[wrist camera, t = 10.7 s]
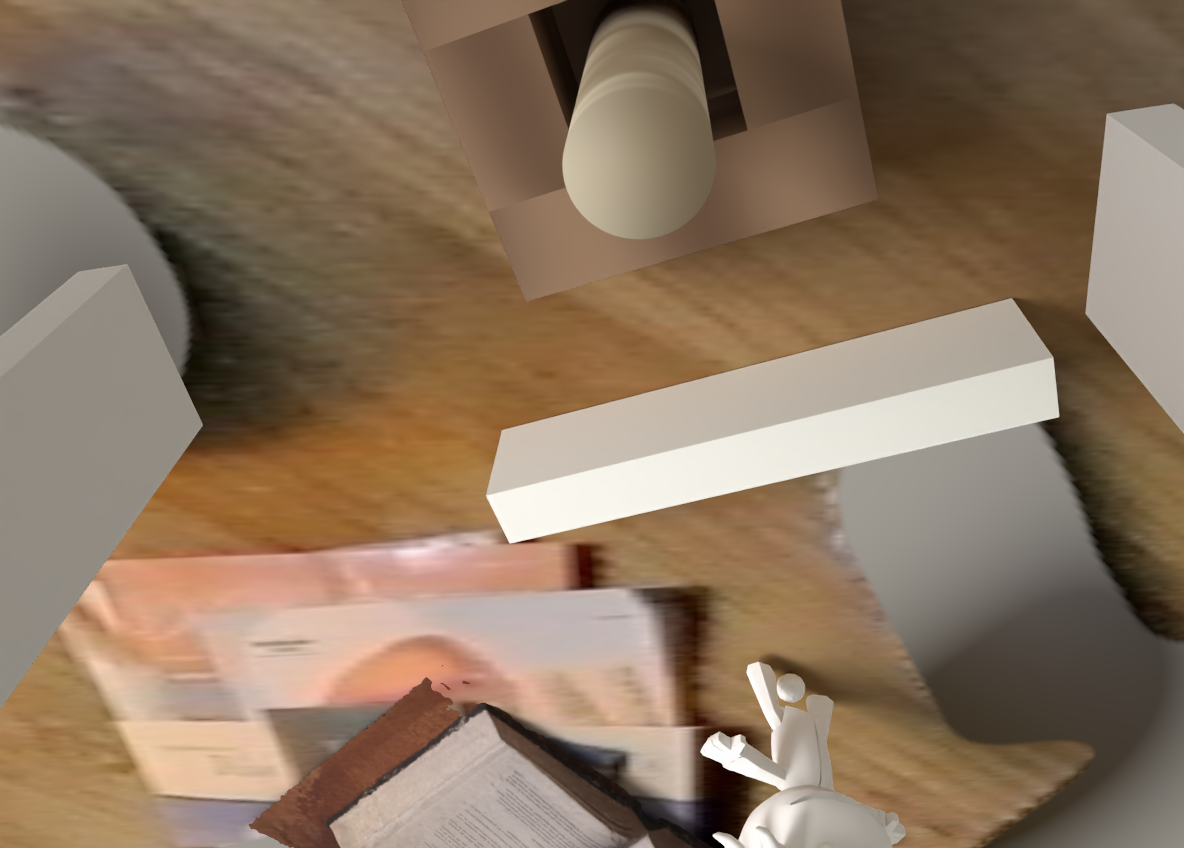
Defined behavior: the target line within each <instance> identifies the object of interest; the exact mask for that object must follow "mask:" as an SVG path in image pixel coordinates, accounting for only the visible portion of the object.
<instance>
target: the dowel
mask: <svg viewBox="0 0 1184 848" xmlns="http://www.w3.org/2000/svg"><path fill="white" fill-rule="evenodd" d="M562 167H563V177H564V182H565V186H566V189H567V192H568V194H569V196H570V198H571V200H572V202H573V203H574V205H575V207H576V208H577V209H578V211H579V212H580V213H581V214H582V215H583V216H584V217H585V218H586V219H587V220H588V221H589V222H590V223H592V224H593V225H594V226H596V227H597V228H599V229H601V230H603V231H604V232H607V233H609V234H612V235H614V236H618V237H622V238H628V239H650V238H655V237H659V236H663V235H665V234H668V233H671V232H673V231H674V230H676V229H678V228H680V227H681V226H683V225H684V224H686V223H687V222H688V221H689V220H690V219H692V218H693V217H694V216H695V215H696V213H697V212H698V211H699V210H700V209H701V207H702V206H703V204H704V203H705V201H706V200H707V198H708V195H709V193H710V191H711V188H712V185H713V182H714V177H715V170H716V157H715V149H714V143H713V136H712V130H711V124H710V118H709V112H708V106H707V100H706V94H705V88H704V82H703V76H702V70H701V64H700V58H699V52H698V46H697V39H696V33H695V28H694V23H693V21H692V18H691V15H690V13H689V11H688V10H687V8H686V7H685V5H684V4H683V3H682V2H681V1H680V0H610V1H609V2H608V3H607V4H606V5H605V6H604V8H603V9H602V11H601V12H600V14H599V16H598V18H597V21H596V24H595V28H594V32H593V36H592V40H591V44H590V48H589V52H588V56H587V60H586V64H585V68H584V72H583V76H582V80H581V84H580V88H579V92H578V96H577V100H576V104H575V107H574V111H573V115H572V119H571V123H570V127H569V131H568V135H567V139H566V143H565V148H564V152H563V161H562Z"/></svg>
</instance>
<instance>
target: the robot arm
mask: <svg viewBox="0 0 1184 848" xmlns="http://www.w3.org/2000/svg"><path fill="white" fill-rule="evenodd" d="M1085 314H1086V315H1087V316H1088V318H1089V319H1090V320H1091V321H1092V322H1093V324H1094V325H1095V326H1096V327H1097V329H1098V330H1099V331H1100V332H1101V333H1102V335H1103V336H1104V337H1105V338H1106V340H1107V341H1108V342H1109V343H1110V344H1111V346H1112V347H1113V348H1114V349H1115V350H1116V352H1117V353H1118V354H1119V355H1120V357H1121V358H1122V359H1123V360H1124V361H1125V363H1126V364H1127V365H1128V366H1129V368H1130V369H1131V370H1132V371H1133V372H1134V374H1135V375H1136V376H1137V377H1138V378H1139V380H1140V381H1141V382H1142V383H1143V385H1144V386H1145V387H1146V388H1147V389H1148V391H1149V392H1150V393H1151V394H1152V396H1153V397H1154V398H1155V399H1156V400H1157V402H1158V403H1159V404H1160V405H1161V406H1162V408H1163V409H1164V410H1165V411H1166V413H1167V414H1168V415H1169V416H1170V417H1171V419H1172V420H1173V421H1174V422H1175V424H1176V425H1177V426H1178V427H1179V428H1180V430H1181V431H1182V432H1183V433H1184V109H1182V108H1180V107H1179V106H1177V105H1175V104H1174V103H1173V104H1167V105H1160V106H1154V107H1147V108H1141V109H1134V110H1128V111H1121V112H1114V113H1108V114H1107V117H1106V127H1105V136H1104V145H1103V154H1102V164H1101V173H1100V182H1099V191H1098V201H1097V210H1096V219H1095V229H1094V238H1093V247H1092V256H1091V266H1090V275H1089V284H1088V293H1087V303H1086V312H1085ZM202 426H203V424H202V422H201V420H200V418H199V416H198V414H197V411H196V409H195V407H194V405H193V403H192V401H191V399H190V397H189V394H188V392H187V390H186V388H185V386H184V384H183V382H182V380H181V377H180V375H179V373H178V371H177V369H176V367H175V365H174V362H173V360H172V358H171V356H170V354H169V352H168V350H167V348H166V345H165V343H164V341H163V339H162V337H161V335H160V333H159V331H158V329H157V326H156V324H155V322H154V320H153V318H152V316H151V314H150V311H149V309H148V307H147V305H146V303H145V301H144V299H143V297H142V294H141V292H140V290H139V288H138V286H137V284H136V282H135V280H134V278H133V275H132V273H131V271H130V269H129V267H128V265H127V264H125V265H119V266H113V267H106V268H99V269H93V270H86V271H80V272H77V273H76V274H75V275H74V276H73V277H71V278H70V279H69V280H68V281H67V282H65V283H64V284H63V285H62V286H61V287H59V288H58V289H57V290H56V291H55V292H53V293H52V294H51V295H50V296H49V297H47V298H46V299H45V300H44V301H43V302H41V303H40V304H39V305H38V306H37V307H35V308H34V309H33V310H32V311H31V312H29V313H28V314H27V315H26V316H25V317H23V318H22V319H21V320H20V321H19V322H17V323H16V324H15V325H14V326H13V327H12V328H10V329H9V330H8V331H7V332H5V333H4V334H3V335H2V336H0V709H1V707H2V706H3V705H4V703H5V702H6V700H7V699H8V698H9V696H10V695H11V693H12V692H13V691H14V689H15V688H16V686H17V685H18V684H19V682H20V681H21V679H22V678H23V677H24V675H25V674H26V672H27V671H28V670H29V668H30V667H31V665H32V664H33V663H34V661H35V660H36V658H37V657H38V656H39V654H40V653H41V651H42V650H43V649H44V647H45V646H46V644H47V643H48V642H49V640H50V639H51V637H52V636H53V635H54V633H55V632H56V630H57V629H58V628H59V626H60V625H61V623H62V622H63V621H64V619H65V618H66V616H67V615H68V614H69V612H70V611H71V609H72V608H73V607H74V605H75V604H76V602H77V601H78V600H79V598H80V597H81V595H82V594H83V593H84V591H85V590H86V588H87V587H88V586H89V584H90V583H91V581H92V580H93V579H94V577H95V576H96V574H97V573H98V571H99V570H100V569H101V567H102V566H103V564H104V563H105V562H106V560H107V559H108V557H109V556H110V555H111V553H112V552H113V550H114V549H115V548H116V546H117V545H118V543H119V542H120V541H121V539H122V538H123V536H124V535H125V534H126V532H127V531H128V529H129V528H130V527H131V525H132V524H133V522H134V521H135V520H136V518H137V517H138V515H139V514H140V513H141V511H142V510H143V508H144V507H145V506H146V504H147V503H148V501H149V500H150V499H151V497H152V496H153V494H154V493H155V492H156V490H157V489H158V487H159V486H160V485H161V483H162V482H163V480H164V479H165V478H166V476H167V475H168V473H169V472H170V471H171V469H172V468H173V466H174V465H175V464H176V462H177V461H178V459H179V458H180V457H181V455H182V454H183V452H184V451H185V450H186V448H187V447H188V445H189V444H190V443H191V441H192V440H193V438H194V437H195V436H196V434H197V433H198V431H199V430H200V429H201V427H202Z"/></svg>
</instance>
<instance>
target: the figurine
mask: <svg viewBox="0 0 1184 848" xmlns="http://www.w3.org/2000/svg"><path fill="white" fill-rule="evenodd" d="M747 675H748V677H749V680H750V682H751V684H752V687H753V689H754V691H755V694H756V696H757V699H758V701H759V703H760V706H761V708H762V710H763V713H764V715H765V717H766V719H767V721H768V722H769V724H770V726H771V728H772V736H771V747H772V759H773V761H772V760H771V759H769V758H768V757H766V756H765V755H763V754H762V753H760V752H759V751H758V750H756V749H755V748H753V747H752V746H750V745H749V744H747V742H746V739H745V737H744V736H742V735H738V736H735V737H732V738H729V737H728V736H726V735H725V734H723V733H721V732H718V733H716V734H714V735H713V736H711V737H709V738H708V740H707V741H706V743H705V744H704V746H703V747H702V749H701V753H702V755H704V756H706V757H709V758H711V759H713V760H716V761H718V762H720V763H722V765H723V767H724V768H726V769H728V770H730V771H731V770H733V771H735V772H738V773H740V774H743V775H746V776H748V777H752V778H755V779H758V780H761V781H763V782H766V783H769V784H772V785H775V786H776V787H777V788H778V789H780V790H781V792H778V793H776V794H774V795H773V796H771V797H770V798H769V799H767V800H766V801H764V802H763V803H762V804H760V805H759V806H758V807H757V808H756V809H755V810H754V811H752V813H751V814H750V816H749V818H748V819H747V821H746V823H745V825H744V827H743V829H742V832H741V835H740V838H739V841H738V840H737V839H736V838H734V837H733V836H731V835H730V834H726V833H721V832H717V833H715V834H713V837H714V838H715V839H716V840H718V841H719V842H720V843H721V844H723V845H724V847H725V848H892V845H893V844H895V843H898V842H899V841H900V839H902V838H903V837H904V836H905V828H904V826H903V824H901V823H899V820H898V815H897V814H895V813H893V812H892V813H887V814H885V813H886V812H884V811H882V810H880V809H877V810H876V809H874V808H871V807H869V806H867V805H864V804H862V803H858V802H857V801H855V800H854V799H852V798H850V797H848V796H845V795H843V794H841V793H838V792H836V791H834V788H833V781H832V768H831V762H830V757H829V752H828V748H827V743H826V741H827V737H828V731H829V726H830V720H831V715H832V710H833V704H834V702H833V701H832V700H831V699H830V698H828V697H827V696H822V695H814V694H813V695H810V696H807V699H806V706H807V711H808V713H807V712H805V711H802V710H800V709H798V708H793V707H789V706H786V707H785V709H784V708H782V707H780V706H779V703H778V695H779V697H780V698H781V699H783V700H785V701H786V702H793V703H794V702H796V701H798V700H800V699H802V697H803V695H804V693H805V684H804V682H803V680H802V678H801V677H799V676H797V675H796V674H790V673H787V674H785V675H783V676H781V677H780V678H779V680H778V682H777V685H776V676H775V673H774V671H773V670H772V668H771V667H770V665H767V664H764V663H761V662H757V663H753V664H750V665H748V669H747ZM777 693H778V694H777Z"/></svg>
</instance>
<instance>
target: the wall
mask: <svg viewBox="0 0 1184 848" xmlns="http://www.w3.org/2000/svg"><path fill="white" fill-rule="evenodd" d="M1057 417H1059V409H1058V399H1057V389H1056V379H1055V369H1054V359H1053V356H1052V355H1051V353H1050V352H1049V350H1048V349H1047V348H1046V346H1045V345H1044V343H1043V342H1042V340H1041V339H1040V338H1039V336H1038V335H1037V333H1036V332H1035V330H1034V329H1033V327H1032V326H1031V325H1030V323H1029V322H1028V320H1027V319H1026V317H1025V316H1024V315H1023V313H1022V312H1021V310H1020V309H1019V307H1018V306H1017V305H1016V303H1015V302H1014V300H1013V299H1012V298H1010V299H1006V300H1003V301H999V302H995V303H991V304H987V305H983V306H979V307H976V308H972V309H968V310H964V311H960V312H956V313H952V314H949V315H945V316H941V317H937V318H933V319H929V320H925V321H922V322H918V323H914V324H910V325H906V326H902V327H898V328H895V329H891V330H887V331H883V332H879V333H875V334H871V335H868V336H864V337H860V338H856V339H852V340H848V341H844V342H841V343H837V344H833V345H829V346H825V347H821V348H817V349H813V350H810V351H806V352H802V353H798V354H794V355H790V356H786V357H783V358H779V359H775V360H771V361H767V362H763V363H759V364H756V365H752V366H748V367H744V368H740V369H736V370H732V371H729V372H725V373H721V374H717V375H713V376H709V377H705V378H702V379H698V380H694V381H690V382H686V383H682V384H678V385H675V386H671V387H667V388H663V389H659V390H655V391H651V392H648V393H644V394H640V395H636V396H632V397H628V398H624V399H621V400H617V401H613V402H609V403H605V404H601V405H597V406H594V407H590V408H586V409H582V410H578V411H574V412H570V413H567V414H563V415H559V416H555V417H551V418H547V419H543V420H540V421H536V422H532V423H528V424H524V425H520V426H516V427H512V428H509V429H505V430H502V433H501V437H500V441H499V445H498V449H497V453H496V457H495V461H494V466H493V470H492V474H491V478H490V482H489V486H488V490H487V494H486V497H487V499H488V501H489V503H490V505H491V507H492V509H493V511H494V513H495V515H496V517H497V519H498V521H499V523H500V525H501V527H502V529H503V531H504V533H505V535H506V537H507V539H508V541H509V543H515V542H519V541H523V540H528V539H532V538H536V537H541V536H545V535H549V534H554V533H558V532H562V531H567V530H571V529H575V528H580V527H584V526H588V525H593V524H597V523H601V522H606V521H610V520H614V519H619V518H623V517H627V516H632V515H636V514H640V513H645V512H649V511H653V510H658V509H662V508H666V507H671V506H675V505H680V504H684V503H688V502H693V501H697V500H701V499H706V498H710V497H714V496H719V495H723V494H727V493H732V492H736V491H740V490H745V489H749V488H753V487H758V486H762V485H766V484H771V483H775V482H779V481H784V480H788V479H792V478H797V477H801V476H805V475H810V474H814V473H818V472H823V471H827V470H831V469H836V468H840V467H844V466H849V465H853V464H857V463H862V462H866V461H870V460H875V459H879V458H884V457H888V456H892V455H896V454H901V453H905V452H910V451H914V450H918V449H923V448H927V447H931V446H935V445H940V444H944V443H949V442H952V441H957V440H961V439H966V438H970V437H975V436H979V435H983V434H988V433H992V432H996V431H1001V430H1005V429H1009V428H1013V427H1018V426H1022V425H1027V424H1031V423H1036V422H1040V421H1044V420H1049V419H1053V418H1057Z"/></svg>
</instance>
